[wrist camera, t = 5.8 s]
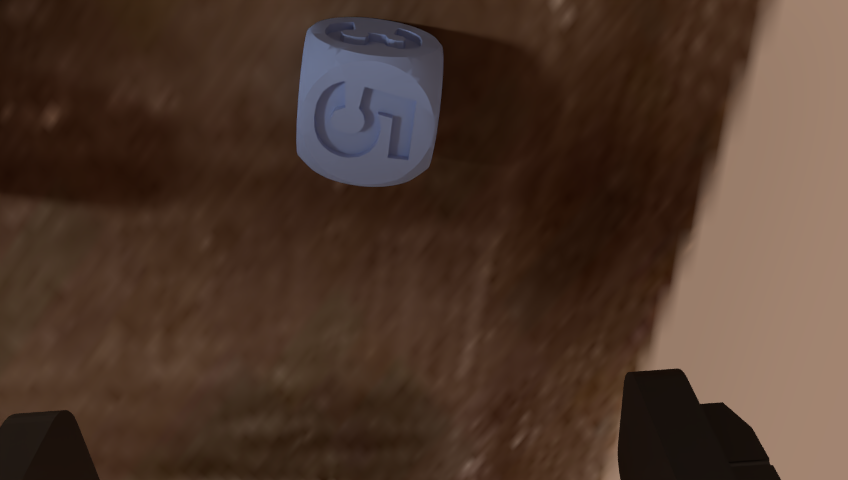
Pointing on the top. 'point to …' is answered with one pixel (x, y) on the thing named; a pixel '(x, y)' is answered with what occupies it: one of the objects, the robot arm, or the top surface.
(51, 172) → the top surface
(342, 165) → the decorative dice
